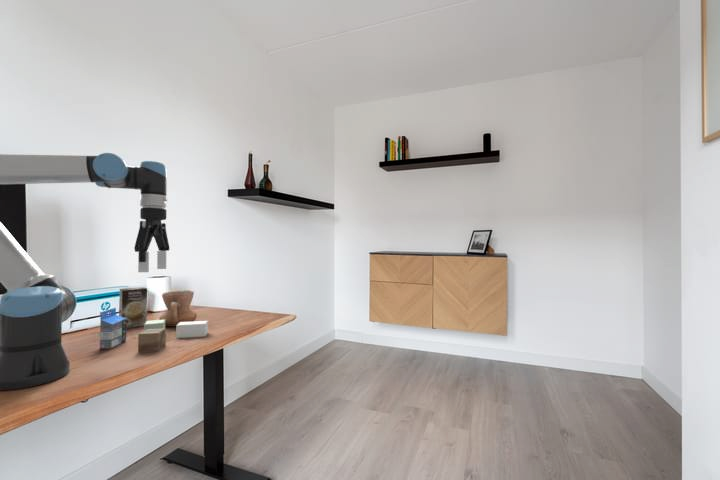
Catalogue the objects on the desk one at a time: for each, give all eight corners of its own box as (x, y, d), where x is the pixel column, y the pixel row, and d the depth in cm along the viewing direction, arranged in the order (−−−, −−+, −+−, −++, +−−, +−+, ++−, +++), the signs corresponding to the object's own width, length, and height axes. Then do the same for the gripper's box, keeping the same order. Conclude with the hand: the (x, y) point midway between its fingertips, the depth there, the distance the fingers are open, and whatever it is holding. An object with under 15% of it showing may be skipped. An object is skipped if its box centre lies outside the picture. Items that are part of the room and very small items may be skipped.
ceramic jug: (166, 320, 152) (165, 289, 152) (200, 318, 156) (200, 288, 155) (152, 331, 135) (151, 296, 134) (191, 329, 138) (190, 295, 138)
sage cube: (163, 338, 124) (163, 322, 124) (144, 340, 121) (144, 324, 121) (165, 334, 129) (165, 319, 129) (146, 336, 127) (147, 320, 127)
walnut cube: (158, 351, 110) (158, 333, 110) (138, 352, 109) (138, 333, 109) (165, 345, 116) (165, 328, 116) (146, 346, 115) (147, 329, 115)
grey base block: (205, 336, 127) (205, 323, 127) (176, 338, 125) (176, 325, 125) (207, 333, 132) (207, 320, 132) (180, 334, 129) (180, 322, 129)
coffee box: (121, 329, 137) (121, 290, 137) (118, 326, 141) (118, 288, 141) (147, 325, 143) (147, 288, 143) (143, 322, 148) (143, 286, 148)
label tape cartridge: (111, 349, 111) (112, 312, 112) (99, 349, 111) (99, 312, 111) (126, 341, 120) (127, 307, 120) (115, 341, 120) (115, 307, 120)
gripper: (148, 204, 101) (148, 273, 101) (179, 211, 125) (178, 267, 125) (121, 203, 100) (120, 274, 99) (157, 211, 124) (157, 267, 124)
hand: (153, 270), depth 112 cm, fingers open, 13 cm apart
